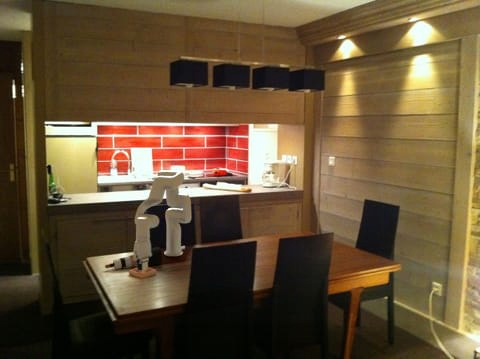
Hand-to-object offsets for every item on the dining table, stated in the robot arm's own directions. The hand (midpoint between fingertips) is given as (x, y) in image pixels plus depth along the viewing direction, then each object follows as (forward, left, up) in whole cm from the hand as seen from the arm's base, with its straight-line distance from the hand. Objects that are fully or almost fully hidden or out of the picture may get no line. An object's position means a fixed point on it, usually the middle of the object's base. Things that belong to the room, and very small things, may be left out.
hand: (142, 268), depth 263 cm
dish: (0, 0, -3) cm, 3 cm away
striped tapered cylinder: (-6, -14, -4) cm, 16 cm away
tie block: (0, 0, -1) cm, 1 cm away
